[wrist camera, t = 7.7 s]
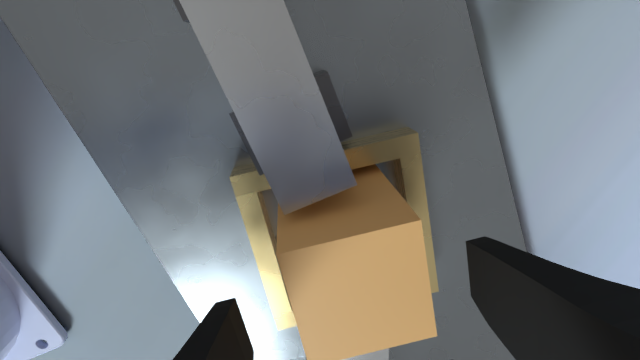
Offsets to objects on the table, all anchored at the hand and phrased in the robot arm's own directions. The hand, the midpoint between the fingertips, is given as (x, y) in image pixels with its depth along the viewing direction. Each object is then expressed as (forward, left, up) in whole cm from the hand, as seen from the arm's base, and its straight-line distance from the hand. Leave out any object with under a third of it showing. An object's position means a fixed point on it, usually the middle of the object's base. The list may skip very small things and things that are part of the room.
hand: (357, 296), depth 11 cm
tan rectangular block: (0, 0, -5) cm, 5 cm away
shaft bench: (0, 0, -6) cm, 6 cm away
